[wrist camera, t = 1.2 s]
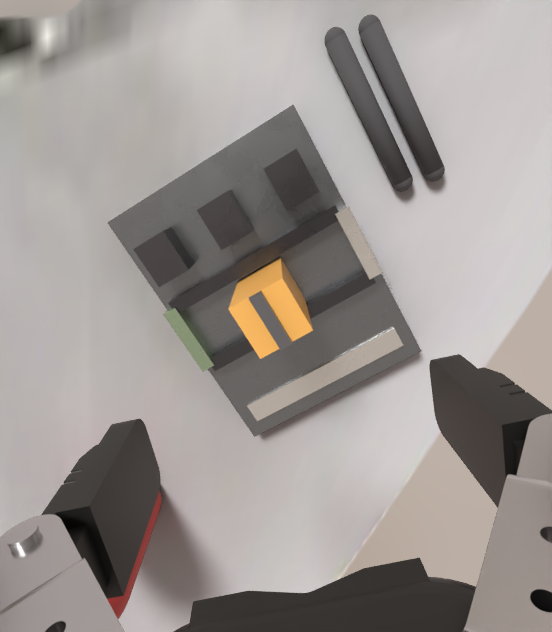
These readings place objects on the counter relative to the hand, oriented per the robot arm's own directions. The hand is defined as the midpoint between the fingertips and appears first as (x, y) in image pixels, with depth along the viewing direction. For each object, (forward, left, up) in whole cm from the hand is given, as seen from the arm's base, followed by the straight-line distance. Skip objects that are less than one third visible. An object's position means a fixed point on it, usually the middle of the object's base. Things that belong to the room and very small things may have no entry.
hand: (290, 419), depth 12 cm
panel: (+1, +1, -22) cm, 22 cm away
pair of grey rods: (-12, -6, -22) cm, 26 cm away
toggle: (+1, +1, -20) cm, 21 cm away
